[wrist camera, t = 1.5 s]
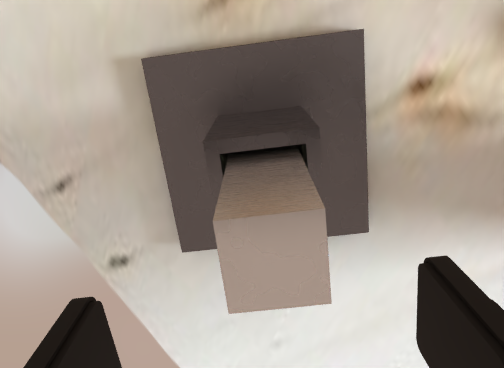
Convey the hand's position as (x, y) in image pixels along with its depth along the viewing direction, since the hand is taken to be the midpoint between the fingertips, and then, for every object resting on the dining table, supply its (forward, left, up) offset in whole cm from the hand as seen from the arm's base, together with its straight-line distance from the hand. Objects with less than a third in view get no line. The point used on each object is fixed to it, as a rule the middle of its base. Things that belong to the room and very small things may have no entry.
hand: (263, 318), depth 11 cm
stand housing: (-1, 0, -21) cm, 21 cm away
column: (-1, 0, -19) cm, 19 cm away
